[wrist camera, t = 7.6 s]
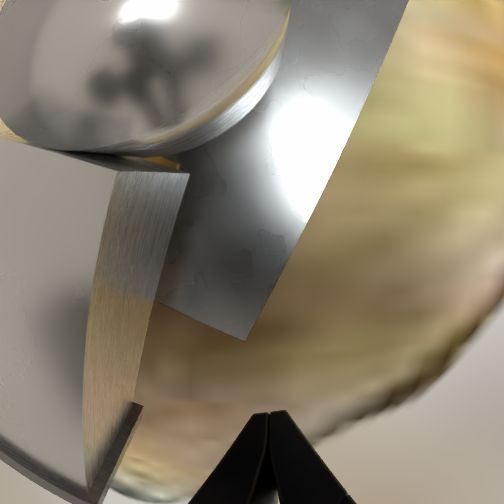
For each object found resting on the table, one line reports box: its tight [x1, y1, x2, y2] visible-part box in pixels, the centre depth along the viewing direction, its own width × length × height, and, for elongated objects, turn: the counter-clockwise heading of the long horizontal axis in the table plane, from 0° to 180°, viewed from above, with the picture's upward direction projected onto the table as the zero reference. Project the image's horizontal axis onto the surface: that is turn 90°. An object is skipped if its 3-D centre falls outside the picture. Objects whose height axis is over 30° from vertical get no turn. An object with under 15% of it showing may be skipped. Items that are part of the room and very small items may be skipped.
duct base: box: [141, 0, 409, 341], centre depth 7 cm, size 16×12×6 cm
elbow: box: [0, 0, 292, 504], centre depth 7 cm, size 16×6×5 cm, turn 161°
